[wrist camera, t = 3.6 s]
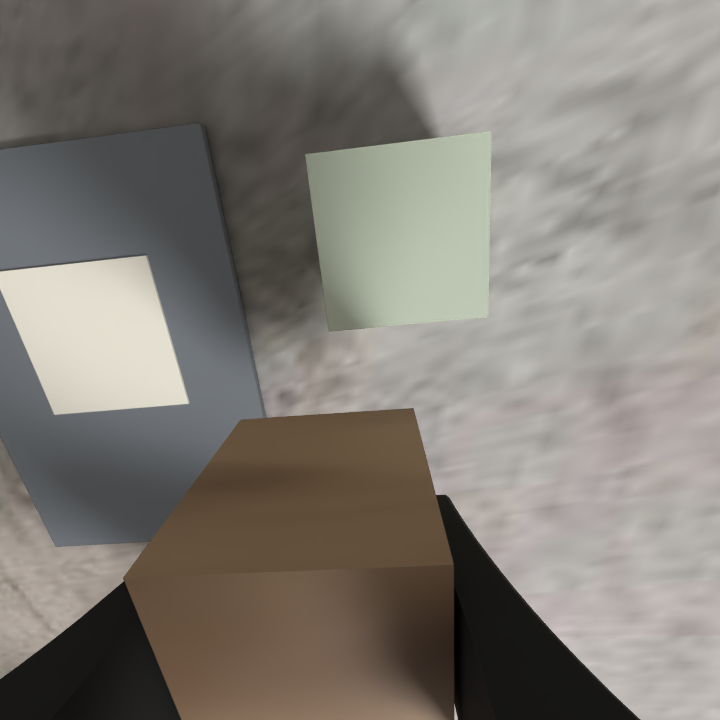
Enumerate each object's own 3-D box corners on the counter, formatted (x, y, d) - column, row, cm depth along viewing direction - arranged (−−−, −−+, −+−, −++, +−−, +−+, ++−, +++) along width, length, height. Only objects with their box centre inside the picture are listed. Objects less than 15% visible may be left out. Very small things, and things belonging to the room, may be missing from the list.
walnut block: (419, 545, 11) (454, 763, 7) (269, 551, 12) (200, 765, 7) (413, 408, 10) (453, 564, 5) (240, 419, 10) (123, 577, 5)
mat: (289, 528, 20) (287, 534, 19) (61, 541, 21) (54, 548, 20) (204, 126, 13) (198, 121, 13) (-121, 169, 14) (-138, 166, 14)
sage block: (452, 294, 15) (487, 317, 11) (341, 304, 16) (328, 331, 11) (450, 169, 14) (491, 130, 9) (327, 183, 14) (305, 154, 9)
